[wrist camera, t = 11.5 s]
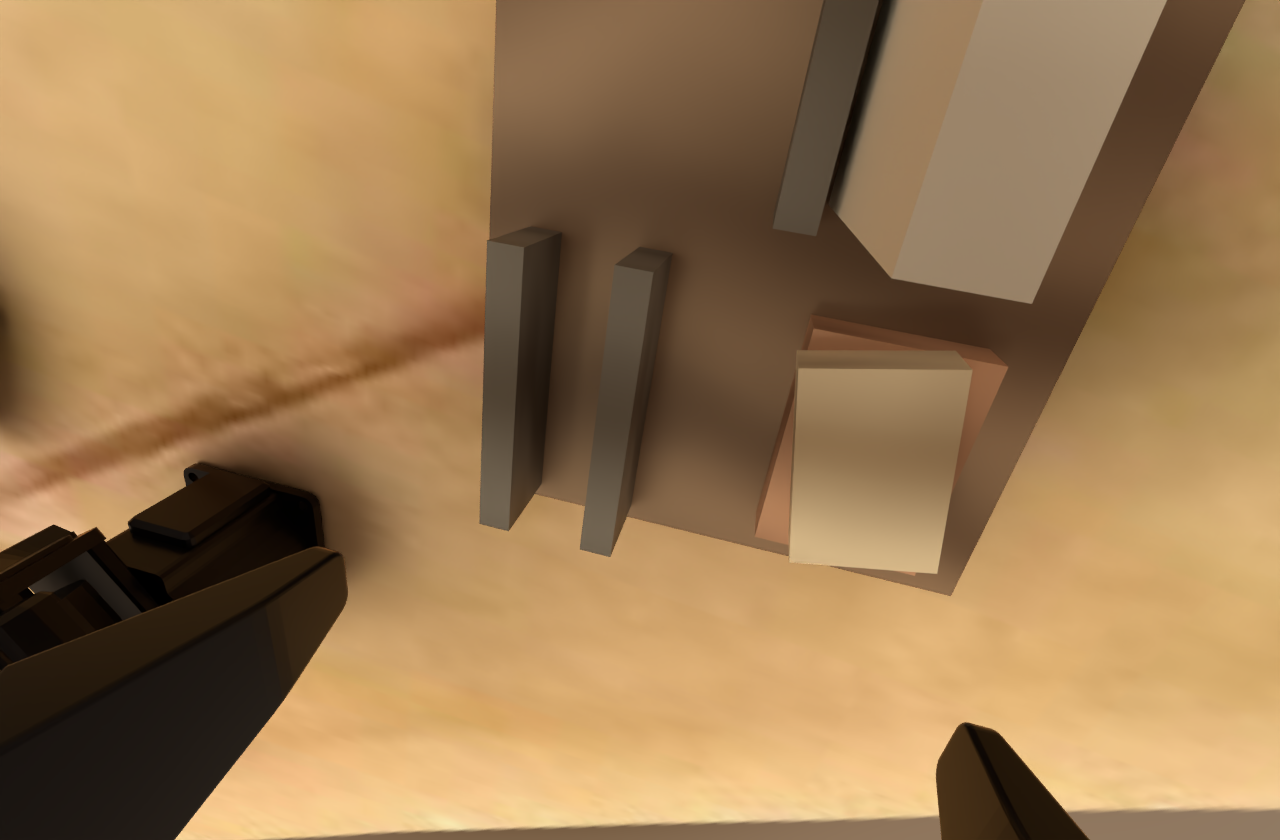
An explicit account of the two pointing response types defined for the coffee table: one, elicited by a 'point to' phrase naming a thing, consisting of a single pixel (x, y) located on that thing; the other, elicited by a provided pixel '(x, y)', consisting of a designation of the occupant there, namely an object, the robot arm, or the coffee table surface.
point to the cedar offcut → (863, 337)
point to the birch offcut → (874, 456)
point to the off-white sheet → (983, 133)
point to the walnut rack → (740, 255)
